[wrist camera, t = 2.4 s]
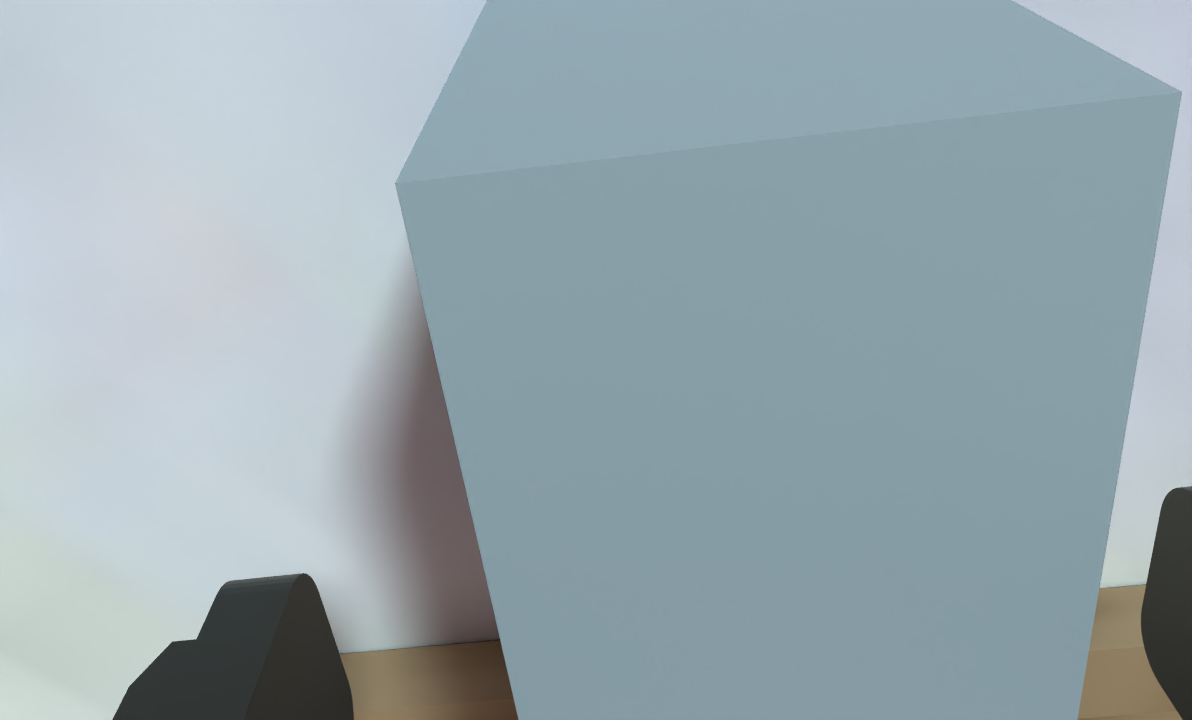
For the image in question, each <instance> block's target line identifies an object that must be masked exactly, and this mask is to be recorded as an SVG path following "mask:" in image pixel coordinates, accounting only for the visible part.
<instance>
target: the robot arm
mask: <svg viewBox="0 0 1192 720" xmlns="http://www.w3.org/2000/svg"><path fill="white" fill-rule="evenodd" d="M1141 633H1142V639H1143V644H1144V648H1145V652H1146V655H1147V659H1148V661H1149V664H1150V667H1151V669H1152V671H1153V673H1154V675H1155V677H1156V679H1157V681H1158V682H1159V684H1160V686H1161V687H1162V689H1163V690H1164V692H1165V693H1166V695H1167V696H1168V698H1169V700H1170V701H1171V703H1172V704H1173V706H1174V707H1175V709H1176V710H1177V712H1178V713H1179V715H1180V717H1181V718H1182V720H1192V486H1191V487H1181V488H1175V489H1173V490H1171V491H1170V492H1169V493H1168V494H1167V495H1166V497H1165V499H1164V501H1163V504H1162V507H1161V512H1160V517H1159V522H1158V527H1157V532H1156V537H1155V542H1154V547H1153V553H1152V558H1151V563H1150V568H1149V573H1148V578H1147V583H1146V589H1145V594H1144V599H1143V604H1142V610H1141ZM113 720H354V711H353V700H352V694H351V689H350V685H349V681H348V678H347V675H346V672H345V669H344V666H343V663H342V660H341V657H340V654H339V651H338V648H337V645H336V642H335V639H334V636H333V633H332V630H331V627H330V624H329V621H328V618H327V615H326V612H325V609H324V606H323V603H322V600H321V597H320V594H319V592H318V589H317V586H316V584H315V582H314V581H313V579H312V578H311V577H310V576H309V575H308V574H304V573H303V574H293V575H283V576H273V577H263V578H253V579H243V580H233V581H229V582H226V583H225V584H224V585H223V586H222V587H221V588H220V590H219V592H218V593H217V595H216V598H215V600H214V602H213V604H212V606H211V609H210V611H209V613H208V615H207V617H206V620H205V622H204V624H203V626H202V628H201V631H200V633H199V635H198V637H197V639H196V640H186V641H175V642H172V643H171V644H170V645H169V646H168V647H167V648H166V649H165V650H164V651H163V652H162V653H161V654H160V655H159V656H158V657H157V658H156V659H155V660H154V661H153V662H152V663H151V664H150V665H149V667H148V668H147V669H146V670H145V671H144V672H143V673H142V674H141V675H140V676H139V677H138V678H137V679H136V680H135V681H134V682H133V683H132V684H131V685H130V686H129V688H128V690H127V692H126V694H125V696H124V698H123V700H122V702H121V704H120V706H119V708H118V710H117V712H116V714H115V716H114V718H113Z"/></svg>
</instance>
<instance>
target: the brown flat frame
mask: <svg viewBox="0 0 1192 720" xmlns="http://www.w3.org/2000/svg"><path fill="white" fill-rule="evenodd" d="M1145 589H1146V585H1135V586H1124V587H1112V588H1100V589H1099V593H1098V599H1097V605H1096V611H1095V617H1094V623H1093V629H1092V635H1091V641H1090V647H1089V653H1088V659H1087V665H1086V671H1085V677H1084V683H1083V689H1082V695H1081V701H1080V707H1079V713H1078V719H1077V720H1182V718H1181V717H1180V715H1179V713H1178V712H1177V710H1176V709H1175V707H1174V706H1173V704H1172V703H1171V701H1170V700H1169V698H1168V696H1167V695H1166V693H1165V692H1164V690H1163V689H1162V687H1161V686H1160V684H1159V682H1158V681H1157V679H1156V677H1155V675H1154V673H1153V671H1152V669H1151V667H1150V664H1149V661H1148V659H1147V655H1146V652H1145V648H1144V644H1143V639H1142V633H1141V610H1142V604H1143V599H1144V594H1145ZM340 657H341V660H342V663H343V666H344V669H345V672H346V675H347V678H348V681H349V685H350V689H351V694H352V700H353V711H354V720H519V719H518V715H517V711H516V706H515V702H514V698H513V693H512V689H511V685H510V680H509V676H508V672H507V667H506V663H505V659H504V654H503V650H502V646H501V641H500V640H498V641H486V642H475V643H463V644H451V645H440V646H428V647H417V648H405V649H393V650H382V651H370V652H359V653H347V654H340Z"/></svg>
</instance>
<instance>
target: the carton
mask: <svg viewBox="0 0 1192 720" xmlns="http://www.w3.org/2000/svg"><path fill="white" fill-rule="evenodd" d="M1181 95H1182V92H1181V91H1179V90H1177V89H1175V88H1174V87H1172V86H1170V85H1168V84H1166V83H1164V82H1162V81H1161V80H1159V79H1157V78H1155V77H1153V76H1151V75H1149V74H1148V73H1146V72H1144V71H1142V70H1140V69H1138V68H1136V67H1134V66H1133V65H1131V64H1129V63H1127V62H1125V61H1123V60H1121V59H1120V58H1118V57H1116V56H1114V55H1112V54H1110V53H1108V52H1107V51H1105V50H1103V49H1101V48H1099V47H1097V46H1095V45H1093V44H1092V43H1090V42H1088V41H1086V40H1084V39H1082V38H1080V37H1079V36H1077V35H1075V34H1073V33H1071V32H1069V31H1067V30H1066V29H1064V28H1062V27H1060V26H1058V25H1056V24H1054V23H1052V22H1051V21H1049V20H1047V19H1045V18H1043V17H1041V16H1039V15H1038V14H1036V13H1034V12H1032V11H1030V10H1028V9H1026V8H1025V7H1023V6H1021V5H1019V4H1017V3H1015V2H1013V1H1011V0H487V2H486V4H485V6H484V8H483V10H482V12H481V14H480V16H479V18H478V20H477V22H476V24H475V26H474V28H473V30H472V32H471V34H470V36H469V38H468V40H467V42H466V43H465V45H464V47H463V49H462V51H461V53H460V55H459V57H458V59H457V61H456V63H455V65H454V67H453V69H452V71H451V73H450V75H449V77H448V79H447V81H446V83H445V85H444V87H443V89H442V91H441V93H440V95H439V97H438V99H437V101H436V103H435V105H434V107H433V109H432V111H431V113H430V115H429V117H428V119H427V121H426V123H425V125H424V127H423V129H422V131H421V133H420V135H419V137H418V139H417V141H416V143H415V145H414V147H413V149H412V151H411V153H410V155H409V157H408V159H407V161H406V163H405V165H404V167H403V169H402V171H401V173H400V175H399V177H398V179H397V181H396V183H395V184H396V189H397V193H398V197H399V202H400V206H401V211H402V215H403V219H404V224H405V228H406V232H407V237H408V241H409V245H410V250H411V254H412V258H413V263H414V267H415V271H416V276H417V280H418V284H419V289H420V293H421V298H422V302H423V306H424V311H425V315H426V319H427V324H428V328H429V332H430V337H431V341H432V345H433V350H434V354H435V358H436V363H437V367H438V371H439V376H440V380H441V385H442V389H443V393H444V398H445V402H446V406H447V411H448V415H449V419H450V424H451V428H452V432H453V437H454V441H455V445H456V450H457V454H458V458H459V463H460V467H461V472H462V476H463V480H464V485H465V489H466V493H467V498H468V502H469V506H470V511H471V515H472V519H473V524H474V528H475V532H476V537H477V541H478V545H479V550H480V554H481V559H482V563H483V567H484V572H485V576H486V580H487V585H488V589H489V593H490V598H491V602H492V606H493V611H494V615H495V619H496V624H497V628H498V632H499V637H500V641H501V646H502V650H503V654H504V659H505V663H506V667H507V672H508V676H509V680H510V685H511V689H512V693H513V698H514V702H515V706H516V711H517V715H518V719H519V720H1077V719H1078V713H1079V707H1080V701H1081V695H1082V689H1083V683H1084V677H1085V671H1086V665H1087V659H1088V653H1089V647H1090V641H1091V635H1092V629H1093V623H1094V617H1095V611H1096V605H1097V599H1098V593H1099V587H1100V581H1101V575H1102V569H1103V563H1104V557H1105V551H1106V545H1107V539H1108V533H1109V527H1110V521H1111V515H1112V509H1113V503H1114V497H1115V491H1116V485H1117V479H1118V473H1119V467H1120V461H1121V455H1122V449H1123V443H1124V437H1125V431H1126V425H1127V419H1128V413H1129V407H1130V401H1131V395H1132V389H1133V383H1134V377H1135V371H1136V365H1137V359H1138V353H1139V347H1140V341H1141V335H1142V329H1143V323H1144V317H1145V311H1146V305H1147V299H1148V293H1149V287H1150V281H1151V275H1152V269H1153V263H1154V257H1155V251H1156V245H1157V239H1158V233H1159V227H1160V221H1161V215H1162V209H1163V203H1164V197H1165V191H1166V185H1167V179H1168V173H1169V167H1170V161H1171V155H1172V149H1173V143H1174V137H1175V131H1176V125H1177V119H1178V113H1179V107H1180V101H1181Z"/></svg>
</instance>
